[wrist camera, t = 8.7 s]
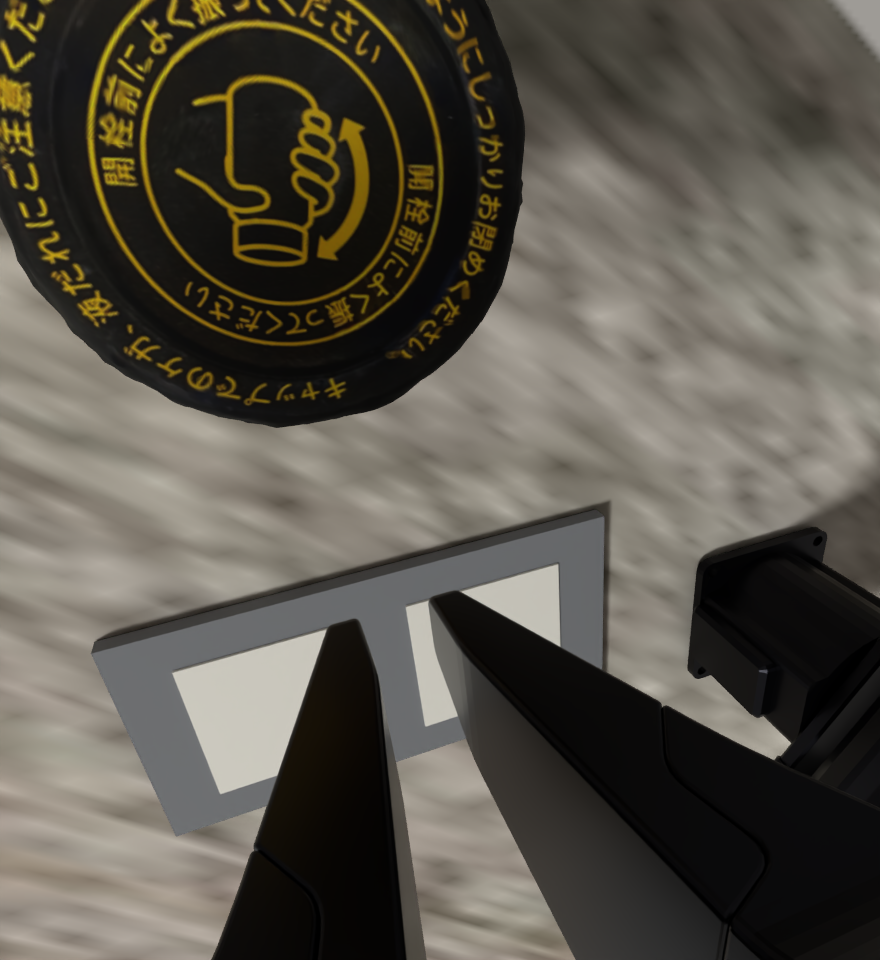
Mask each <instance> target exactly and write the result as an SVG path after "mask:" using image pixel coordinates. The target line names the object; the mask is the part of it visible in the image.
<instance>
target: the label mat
mask: <svg viewBox="0 0 880 960" xmlns="http://www.w3.org/2000/svg"><path fill="white" fill-rule="evenodd" d="M603 579H604V516H603V515H602V514H601V513H600V512H599V511H598V510H596V509H595V510H592V511H588V512H584V513H580V514H576V515H573V516H569V517H565V518H561V519H557V520H554V521H550V522H546V523H542V524H539V525H535V526H531V527H527V528H523V529H520V530H516V531H512V532H508V533H504V534H501V535H497V536H493V537H489V538H486V539H482V540H478V541H474V542H470V543H467V544H463V545H459V546H455V547H451V548H448V549H444V550H440V551H436V552H433V553H429V554H425V555H421V556H417V557H414V558H410V559H406V560H402V561H398V562H395V563H391V564H387V565H383V566H379V567H376V568H372V569H368V570H364V571H361V572H357V573H353V574H349V575H345V576H342V577H338V578H334V579H330V580H326V581H323V582H319V583H315V584H311V585H308V586H304V587H300V588H296V589H292V590H289V591H285V592H281V593H277V594H273V595H270V596H266V597H262V598H258V599H255V600H251V601H247V602H243V603H239V604H236V605H232V606H228V607H224V608H220V609H217V610H213V611H209V612H205V613H202V614H198V615H194V616H190V617H186V618H183V619H179V620H175V621H171V622H167V623H164V624H160V625H156V626H152V627H149V628H145V629H141V630H137V631H133V632H130V633H126V634H122V635H118V636H114V637H111V638H107V639H103V640H99V641H96V642H94V645H93V649H92V652H91V655H92V657H93V659H94V661H95V663H96V665H97V668H98V670H99V672H100V674H101V676H102V678H103V680H104V683H105V685H106V687H107V689H108V691H109V693H110V695H111V698H112V700H113V702H114V704H115V706H116V708H117V711H118V713H119V715H120V717H121V719H122V721H123V723H124V726H125V728H126V730H127V732H128V734H129V736H130V738H131V741H132V743H133V745H134V747H135V749H136V751H137V753H138V756H139V758H140V760H141V762H142V764H143V766H144V769H145V771H146V773H147V775H148V777H149V779H150V781H151V784H152V786H153V788H154V790H155V792H156V794H157V796H158V799H159V801H160V803H161V805H162V807H163V809H164V811H165V814H166V816H167V818H168V820H169V822H170V824H171V827H172V829H173V831H174V833H175V835H176V836H179V835H182V834H185V833H188V832H191V831H194V830H197V829H200V828H203V827H206V826H209V825H212V824H214V823H217V822H220V821H223V820H226V819H229V818H232V817H235V816H238V815H241V814H244V813H247V812H250V811H253V810H256V809H259V808H262V807H265V806H267V804H268V801H269V798H270V795H271V792H272V790H273V787H274V784H275V781H276V778H277V775H278V772H279V769H280V766H281V763H282V760H283V757H284V754H285V751H286V748H287V745H288V742H289V739H290V736H291V733H292V730H293V727H294V724H295V722H296V719H297V716H298V713H299V710H300V707H301V704H302V701H303V698H304V695H305V692H306V689H307V686H308V683H309V680H310V677H311V674H312V671H313V668H314V665H315V662H316V659H317V657H318V654H319V651H320V648H321V645H322V642H323V639H324V636H325V633H326V630H327V628H328V627H329V626H330V625H332V624H335V623H339V622H342V621H346V620H349V619H353V618H356V619H358V620H359V621H360V623H361V626H362V629H363V632H364V634H365V637H366V640H367V643H368V646H369V649H370V651H371V654H372V657H373V660H374V663H375V665H376V669H377V672H378V676H379V680H380V685H381V690H382V695H383V700H384V705H385V710H386V715H387V720H388V725H389V730H390V735H391V740H392V745H393V750H394V755H395V760H396V762H398V761H401V760H404V759H407V758H409V757H412V756H415V755H418V754H421V753H424V752H427V751H430V750H433V749H436V748H439V747H442V746H445V745H448V744H451V743H454V742H457V741H460V740H463V739H466V737H465V734H464V731H463V728H462V726H461V723H460V720H459V717H458V715H457V712H456V709H455V706H454V704H453V701H452V698H451V695H450V693H449V690H448V687H447V684H446V682H445V679H444V676H443V673H442V671H441V668H440V665H439V662H438V659H437V656H436V652H435V648H434V643H433V636H432V629H431V621H430V614H429V607H428V602H429V599H430V598H431V597H432V596H435V595H438V594H442V593H445V592H449V591H452V590H457V591H460V592H462V593H464V594H466V595H468V596H469V597H471V598H473V599H475V600H477V601H478V602H480V603H482V604H484V605H486V606H487V607H489V608H491V609H493V610H495V611H497V612H498V613H500V614H502V615H504V616H506V617H507V618H509V619H511V620H513V621H515V622H516V623H518V624H520V625H522V626H524V627H526V628H527V629H529V630H531V631H533V632H535V633H536V634H538V635H540V636H542V637H544V638H545V639H547V640H549V641H551V642H553V643H554V644H556V645H558V646H560V647H562V648H564V649H565V650H567V651H569V652H571V653H573V654H574V655H576V656H578V657H580V658H582V659H583V660H585V661H587V662H589V663H591V664H593V665H594V666H596V667H598V668H600V669H602V651H603Z"/></svg>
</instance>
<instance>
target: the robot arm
mask: <svg viewBox="0 0 880 960" xmlns="http://www.w3.org/2000/svg"><path fill="white" fill-rule="evenodd" d="M826 541H827V534H826V532H824V531H822V530H820V529H819V528H817V527H812V528H808V529H805V530H802V531H798V532H795V533H792V534H788V535H785V536H781V537H778V538H775V539H771V540H768V541H765V542H761V543H758V544H755V545H751V546H748V547H744V548H741V549H738V550H734V551H731V552H728V553H724V554H721V555H718V556H714V557H711V558H707V559H705V560H703V561H702V562H701V563H700V565H699V566H698V568H697V572H696V583H695V594H694V604H693V615H692V625H691V636H690V646H689V657H688V667H687V668H688V671H689V672H690V673H691V674H692V675H693V676H694V677H695V678H697V679H700V678H703V677H706V676H709V675H712V676H713V677H714V678H715V679H716V680H717V681H718V682H719V683H720V684H721V685H722V686H723V687H724V688H725V689H726V690H727V691H728V692H729V693H730V694H731V695H732V696H733V697H734V698H735V699H736V700H737V701H738V702H739V703H740V704H741V705H742V706H743V707H744V708H745V709H746V710H747V711H748V712H749V713H750V714H751V715H753V716H755V717H756V718H760V717H762V716H764V717H765V718H766V719H767V720H768V721H769V722H770V723H771V724H772V725H773V726H774V727H775V728H776V729H777V730H778V731H779V732H780V733H781V734H783V735H784V736H785V737H786V738H787V739H788V740H789V741H790V742H791V745H790V746H789V747H788V748H787V750H786V751H785V752H784V753H783V754H782V756H777V757H776V759H775V760H772V759H770V758H768V757H766V756H764V755H762V754H760V753H758V752H755V751H753V750H751V749H749V748H747V747H745V746H743V745H741V744H739V743H737V742H735V741H733V740H731V739H729V738H727V737H725V736H723V735H721V734H719V733H717V732H716V731H714V730H712V729H710V728H708V727H706V726H704V725H702V724H700V723H698V722H696V721H694V720H693V719H691V718H689V717H687V716H685V715H684V714H682V713H680V712H678V711H676V710H675V709H673V708H671V707H669V706H663V707H662V704H661V703H660V702H659V701H658V700H656V699H654V698H652V697H650V696H649V695H647V694H645V693H643V692H641V691H640V690H638V689H636V688H634V687H632V686H631V685H629V684H627V683H625V682H623V681H622V680H620V679H618V678H616V677H614V676H612V675H611V674H609V673H607V672H605V671H603V670H602V669H600V668H598V667H596V666H594V665H593V664H591V663H589V662H587V661H585V660H583V659H582V658H580V657H578V656H576V655H574V654H573V653H571V652H569V651H567V650H565V649H564V648H562V647H560V646H558V645H556V644H554V643H553V642H551V641H549V640H547V639H545V638H544V637H542V636H540V635H538V634H536V633H535V632H533V631H531V630H529V629H527V628H526V627H524V626H522V625H520V624H518V623H516V622H515V621H513V620H511V619H509V618H507V617H506V616H504V615H502V614H500V613H498V612H497V611H495V610H493V609H491V608H489V607H487V606H486V605H484V604H482V603H480V602H478V601H477V600H475V599H473V598H471V597H469V596H468V595H466V594H464V593H462V592H460V591H457V590H452V591H449V592H445V593H442V594H438V595H435V596H432V597H431V598H430V599H429V602H428V607H429V614H430V621H431V629H432V636H433V643H434V648H435V652H436V656H437V659H438V662H439V665H440V668H441V671H442V673H443V676H444V679H445V682H446V684H447V687H448V690H449V693H450V695H451V698H452V701H453V704H454V706H455V709H456V712H457V715H458V717H459V720H460V723H461V726H462V728H463V731H464V734H465V737H466V739H467V742H468V745H469V747H470V750H471V752H472V755H473V757H474V760H475V762H476V764H477V766H478V768H479V770H480V772H481V774H482V777H483V778H484V780H485V782H486V784H487V786H488V788H489V790H490V792H491V794H492V796H493V798H494V800H495V802H496V804H497V806H498V808H499V810H500V812H501V814H502V816H503V818H504V820H505V822H506V824H507V826H508V828H509V830H510V832H511V834H512V835H513V837H514V839H515V841H516V843H517V845H518V847H519V849H520V851H521V853H522V855H523V857H524V859H525V861H526V863H527V865H528V867H529V869H530V871H531V873H532V875H533V877H534V879H535V881H536V883H537V885H538V887H539V889H540V891H541V892H542V894H543V896H544V898H545V900H546V902H547V904H548V906H549V908H550V910H551V912H552V914H553V916H554V918H555V920H556V922H557V924H558V926H559V928H560V930H561V932H562V934H563V936H564V938H565V940H566V942H567V944H568V946H569V948H570V950H571V951H572V953H573V955H574V957H575V959H576V960H880V598H878V597H876V596H875V595H873V594H872V593H870V592H868V591H867V590H865V589H864V588H862V587H860V586H859V585H857V584H855V583H854V582H852V581H851V580H849V579H847V578H846V577H844V576H843V575H841V574H839V573H838V572H836V571H834V570H833V569H831V568H830V567H828V566H826V565H825V564H823V563H822V560H823V555H824V550H825V545H826ZM211 960H427V959H426V952H425V946H424V939H423V932H422V925H421V918H420V911H419V905H418V898H417V891H416V884H415V877H414V871H413V864H412V857H411V850H410V843H409V836H408V830H407V823H406V816H405V809H404V802H403V797H402V791H401V785H400V780H399V775H398V770H397V765H396V760H395V755H394V750H393V745H392V740H391V735H390V730H389V725H388V720H387V715H386V710H385V705H384V700H383V695H382V690H381V685H380V680H379V676H378V672H377V669H376V665H375V663H374V660H373V657H372V654H371V651H370V649H369V646H368V643H367V640H366V637H365V634H364V632H363V629H362V626H361V623H360V621H359V620H358V619H356V618H353V619H349V620H346V621H342V622H339V623H335V624H332V625H330V626H329V627H328V628H327V630H326V633H325V636H324V639H323V642H322V645H321V648H320V651H319V654H318V657H317V659H316V662H315V665H314V668H313V671H312V674H311V677H310V680H309V683H308V686H307V689H306V692H305V695H304V698H303V701H302V704H301V707H300V710H299V713H298V716H297V719H296V722H295V724H294V727H293V730H292V733H291V736H290V739H289V742H288V745H287V748H286V751H285V754H284V757H283V760H282V763H281V766H280V769H279V772H278V775H277V778H276V781H275V784H274V787H273V790H272V792H271V795H270V798H269V801H268V804H267V807H266V810H265V813H264V816H263V819H262V822H261V825H260V828H259V831H258V834H257V837H256V840H255V843H254V851H253V852H252V853H251V854H250V856H249V859H248V862H247V865H246V868H245V871H244V874H243V877H242V880H241V883H240V886H239V889H238V892H237V894H236V897H235V900H234V903H233V905H232V908H231V911H230V913H229V916H228V919H227V921H226V924H225V927H224V929H223V932H222V935H221V937H220V940H219V943H218V946H217V948H216V950H215V952H214V955H213V957H212V959H211Z"/></svg>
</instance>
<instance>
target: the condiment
mask: <svg viewBox="0 0 880 960" xmlns="http://www.w3.org/2000/svg"><path fill="white" fill-rule="evenodd" d="M524 140H525V124H524V116H523V111H522V107H521V104H520V101H519V98H518V93H517V87H516V84H515V80H514V77H513V73H512V68H511V64H510V61H509V58H508V56H507V54H506V51H505V49H504V46H503V44H502V42H501V39H500V37H499V35H498V32H497V30H496V27H495V23H494V20H493V17H492V14H491V11H490V9H489V7H488V5H487V4H486V2H485V0H0V218H1V220H2V222H3V224H4V226H5V228H6V230H7V232H8V234H9V236H10V238H11V240H12V243H13V246H14V249H15V253H16V257H17V261H18V262H19V264H20V265H21V267H22V268H23V270H24V271H25V272H26V274H27V276H28V278H29V279H30V281H31V283H32V285H33V286H34V287H35V288H36V289H37V291H38V292H39V293H40V294H41V295H42V296H43V297H44V298H45V299H46V300H47V301H48V302H49V303H50V304H51V305H52V306H53V307H54V308H55V309H56V310H57V311H58V312H59V313H60V314H61V316H62V317H63V318H64V320H65V321H66V323H67V325H68V327H69V328H70V329H71V331H72V332H73V333H74V334H75V335H77V336H78V337H79V338H80V339H82V340H83V341H84V342H85V343H86V344H87V345H88V346H89V347H90V348H91V349H93V350H94V351H95V352H96V353H97V354H98V355H99V356H100V357H101V359H102V360H103V361H104V362H105V363H107V364H109V365H111V366H113V367H115V368H116V369H117V370H119V371H120V372H121V373H123V374H124V375H125V376H127V377H129V378H131V379H133V380H135V381H138V382H141V383H143V384H145V385H147V386H148V387H150V388H152V389H154V390H156V391H158V392H160V393H161V394H162V395H164V396H165V397H167V398H168V399H170V400H171V401H173V402H175V403H177V404H180V405H182V406H186V407H191V408H194V409H197V410H200V411H203V412H206V413H209V414H212V415H216V416H218V417H223V418H228V419H235V420H241V421H244V422H247V423H255V424H263V425H267V426H271V427H275V428H280V427H287V426H295V425H301V424H310V423H314V422H320V421H326V420H330V419H336V418H341V417H343V416H348V415H353V414H358V413H364V412H368V411H372V410H375V409H378V408H380V407H383V406H385V405H387V404H389V403H391V402H393V401H395V400H396V399H398V398H399V397H401V396H402V395H404V394H405V393H407V392H408V391H409V390H410V389H411V388H412V387H414V386H415V385H416V384H417V383H418V382H420V381H421V380H422V379H424V378H426V377H427V376H429V375H430V374H432V373H433V372H434V371H436V370H437V369H438V368H439V367H440V366H442V365H443V364H444V363H445V362H446V361H447V360H449V359H450V358H451V357H452V356H453V355H454V354H455V353H456V352H457V351H458V350H459V349H460V348H461V347H462V345H463V344H464V343H465V341H466V340H467V339H468V338H469V336H470V335H471V334H473V332H474V331H475V329H476V328H477V327H478V325H479V324H480V323H481V322H482V320H483V319H484V317H485V315H486V313H487V311H488V310H489V308H490V306H491V304H492V302H493V301H494V299H495V297H496V295H497V293H498V291H499V289H500V287H501V285H502V283H503V279H504V276H505V273H506V269H507V265H508V261H509V257H510V252H511V247H512V244H513V237H514V230H515V226H516V222H517V218H518V214H519V210H520V206H521V204H522V202H523V201H522V186H523V182H522V179H521V176H522V163H523V153H524Z"/></svg>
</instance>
